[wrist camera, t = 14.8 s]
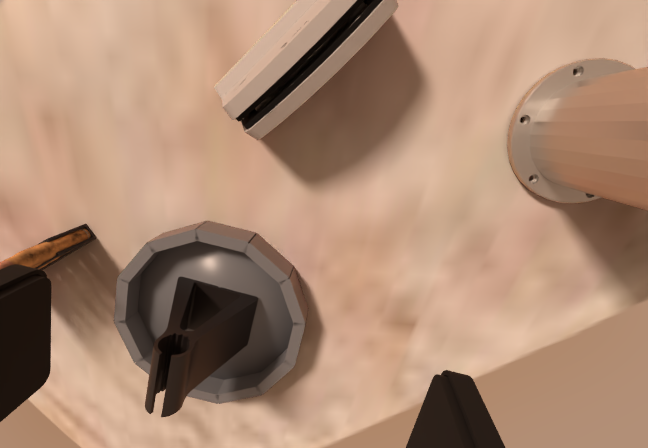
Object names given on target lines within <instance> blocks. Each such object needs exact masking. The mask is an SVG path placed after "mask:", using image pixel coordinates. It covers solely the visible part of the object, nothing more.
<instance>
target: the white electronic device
mask: <svg viewBox="0 0 648 448" xmlns="http://www.w3.org/2000/svg"><path fill="white" fill-rule="evenodd" d="M397 8H398V3H397V0H296V1H295V2H294V3H293V4H292V5H291V7H290V8H289V9H288V10H287V11H286V12H285V13H284V14H283V15H282V16H281V17H280V18H279V19H278V20H277V21H276V22H275V23H274V24H273V25H272V26H271V27H270V28H269V29H268V31H267V32H266V33H265V34H264V35H263V36H262V37H261V38H260V39H259V40H258V41H257V42H256V43H255V44H254V45H253V46H252V47H251V48H250V49H249V50H248V51H247V52H246V53H245V55H244V56H243V57H242V58H241V59H240V60H239V61H238V62H237V63H236V64H235V65H234V66H233V67H232V68H231V69H230V70H229V71H228V72H227V73H226V74H225V75H224V76H223V77H222V79H221V80H220V81H219V82H218V83H217V84H216V85H215V87H214V88H215V90H216V91H217V93H218V94H219V96H220V97H221V99H222V105H223V108H224V109H225V111H226V112H227V113H228V115H229V116H230V118H231V119H232V120H234V119H235V118H236V119H237V120H238V121H241V123H242V125H243V128H244V131H245V133H247V134H249V135H250V136H252V137H253V138H255V139H257V140H259V139H261V138H263V137H264V136H265V135H266V134H268V133H269V132H270V131H271V130H273V129H274V128H275V127H276V126H278V125H279V124H280V123H281V122H283V121H284V120H285V119H286V118H287V117H288V116H290V115H291V114H292V113H293V112H294V111H295V110H296V109H298V108H299V107H300V106H301V105H302V104H303V103H305V102H306V101H307V100H308V99H309V98H310V97H311V96H312V95H313V94H314V93H316V92H317V91H318V90H319V89H320V88H321V87H322V86H323V85H324V84H325V83H326V82H327V81H328V80H330V79H331V78H332V77H333V76H334V75H335V74H336V73H337V72H338V71H339V70H340V69H341V68H342V67H343V66H344V65H345V64H346V63H347V62H348V61H349V60H350V59H351V58H352V57H353V56H354V55H355V54H356V53H357V52H358V51H359V50H360V49H361V48H362V47H363V46H364V45H365V44H366V43H367V42H368V40H369V39H370V38H371V37H372V36H373V35H374V34H375V33H376V32H377V31H378V30H379V29H380V28H381V26H382V25H383V24H384V23H385V22H386V21H387V20H388V19H389V18H390V16H391V15H392V14H393V13H394V12H395V11H396V9H397Z"/></svg>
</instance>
